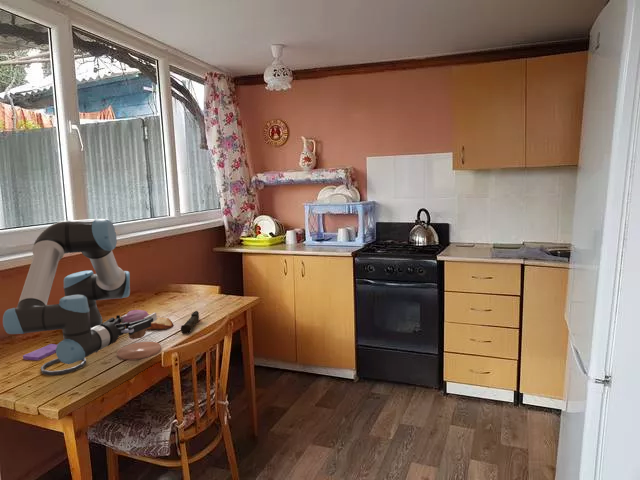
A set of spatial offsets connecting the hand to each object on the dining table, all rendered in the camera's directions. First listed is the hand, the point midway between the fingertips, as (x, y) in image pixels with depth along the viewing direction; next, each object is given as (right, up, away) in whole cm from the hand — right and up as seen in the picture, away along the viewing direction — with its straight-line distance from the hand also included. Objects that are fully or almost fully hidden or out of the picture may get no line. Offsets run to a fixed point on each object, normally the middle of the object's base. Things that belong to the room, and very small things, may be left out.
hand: (144, 315), depth 171 cm
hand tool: (+10, -9, +25) cm, 28 cm away
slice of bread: (-8, -10, +26) cm, 29 cm away
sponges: (-36, -14, -1) cm, 39 cm away
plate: (-1, -13, -3) cm, 13 cm away
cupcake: (-1, -7, -4) cm, 8 cm away
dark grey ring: (-22, -15, -14) cm, 30 cm away
